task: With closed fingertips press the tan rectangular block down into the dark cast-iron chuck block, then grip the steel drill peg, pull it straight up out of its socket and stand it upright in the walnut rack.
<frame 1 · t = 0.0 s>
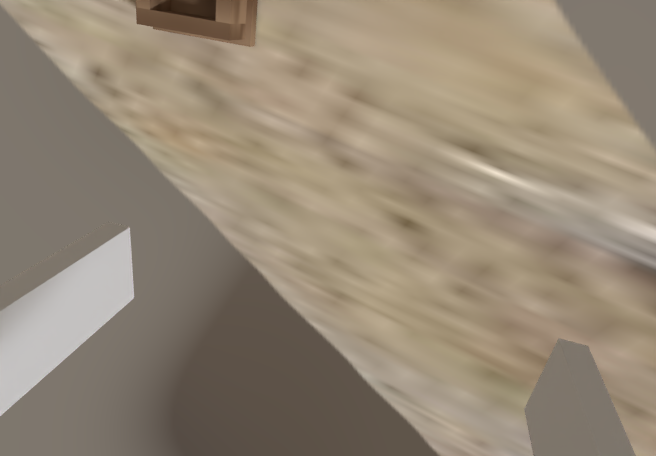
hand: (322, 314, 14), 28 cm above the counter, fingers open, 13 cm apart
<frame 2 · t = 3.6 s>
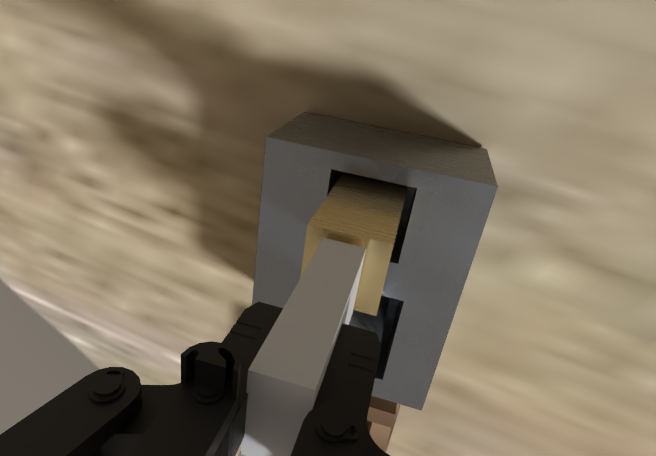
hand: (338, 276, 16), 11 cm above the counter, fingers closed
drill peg: (360, 279, 27), point 1 cm above the counter, touching chuck block
chuck block: (370, 235, 27), on the counter
tan rectangular block: (360, 230, 19), point 7 cm above the counter, slide at 0.5 cm, touching gripper
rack: (336, 393, 33), on the counter
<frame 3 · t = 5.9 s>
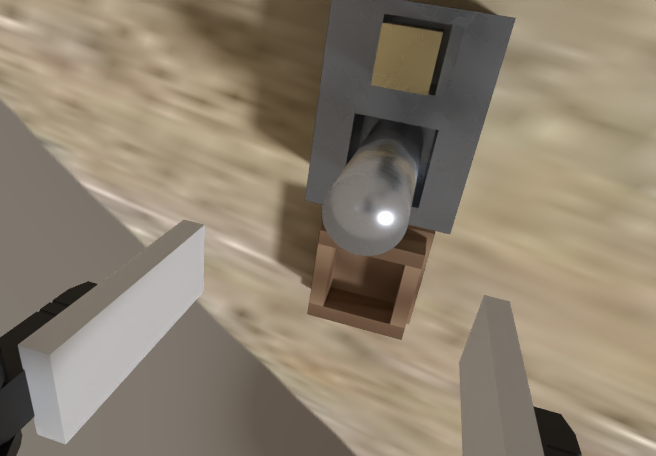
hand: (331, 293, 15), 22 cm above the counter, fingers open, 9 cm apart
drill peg: (395, 143, 33), point 1 cm above the counter, touching chuck block
chuck block: (404, 105, 32), on the counter
tan rectangular block: (410, 55, 26), point 6 cm above the counter, slide at 2.0 cm
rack: (370, 262, 38), on the counter
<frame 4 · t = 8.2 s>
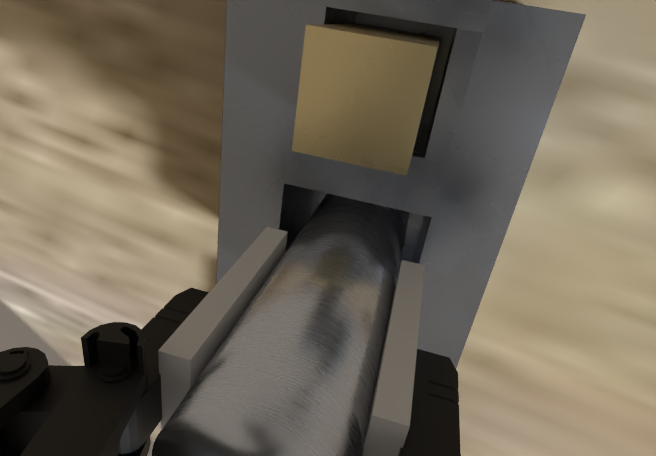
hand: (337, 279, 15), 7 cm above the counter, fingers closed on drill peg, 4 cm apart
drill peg: (365, 212, 21), point 1 cm above the counter, touching chuck block, gripper
chuck block: (379, 153, 21), on the counter
tan rectangular block: (378, 84, 14), point 6 cm above the counter, slide at 2.0 cm
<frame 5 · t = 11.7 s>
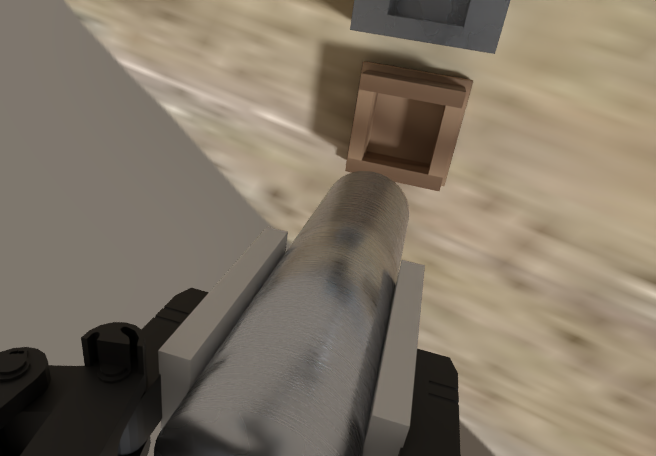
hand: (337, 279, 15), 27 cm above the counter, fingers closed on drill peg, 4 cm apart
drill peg: (366, 212, 21), point 21 cm above the counter, touching gripper
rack: (406, 123, 39), on the counter
when the fingers open (9 cm above the counter, at t = 15.4 s): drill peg drops 1 cm, resting on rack.
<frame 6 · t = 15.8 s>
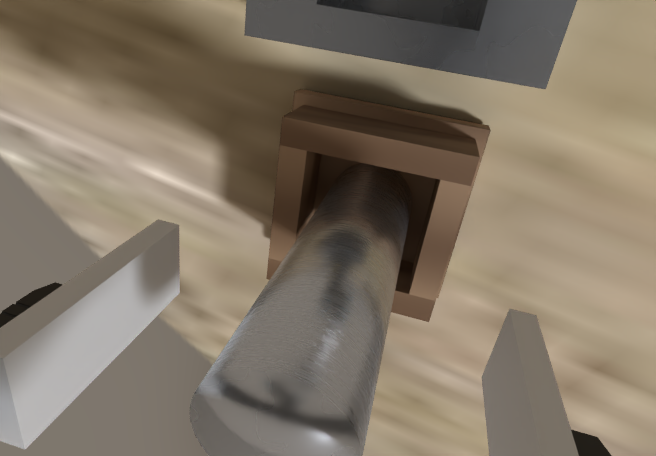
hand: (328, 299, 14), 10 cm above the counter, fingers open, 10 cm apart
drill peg: (371, 201, 22), point 1 cm above the counter, touching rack
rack: (373, 194, 23), on the counter
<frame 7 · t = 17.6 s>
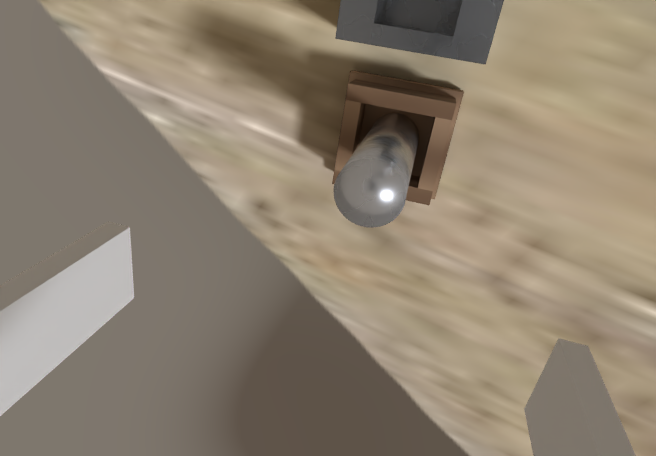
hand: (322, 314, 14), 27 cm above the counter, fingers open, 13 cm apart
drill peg: (394, 137, 37), point 1 cm above the counter, touching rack
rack: (395, 135, 38), on the counter
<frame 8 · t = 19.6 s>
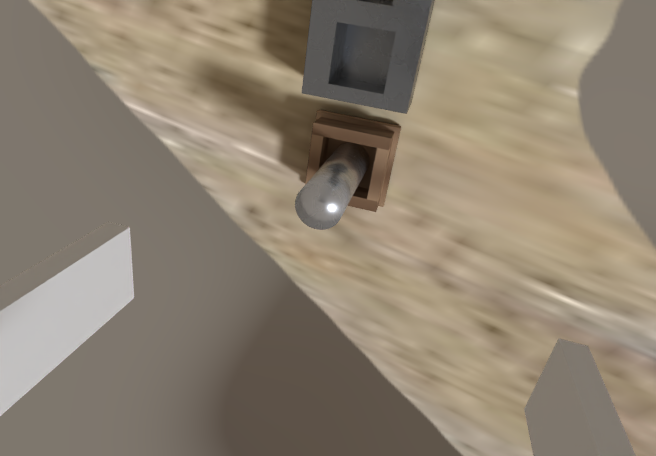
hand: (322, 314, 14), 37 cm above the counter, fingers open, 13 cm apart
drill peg: (351, 160, 49), point 1 cm above the counter, touching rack
chuck block: (375, 26, 44), on the counter
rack: (352, 157, 50), on the counter
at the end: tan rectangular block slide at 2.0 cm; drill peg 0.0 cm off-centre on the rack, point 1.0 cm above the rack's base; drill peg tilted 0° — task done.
